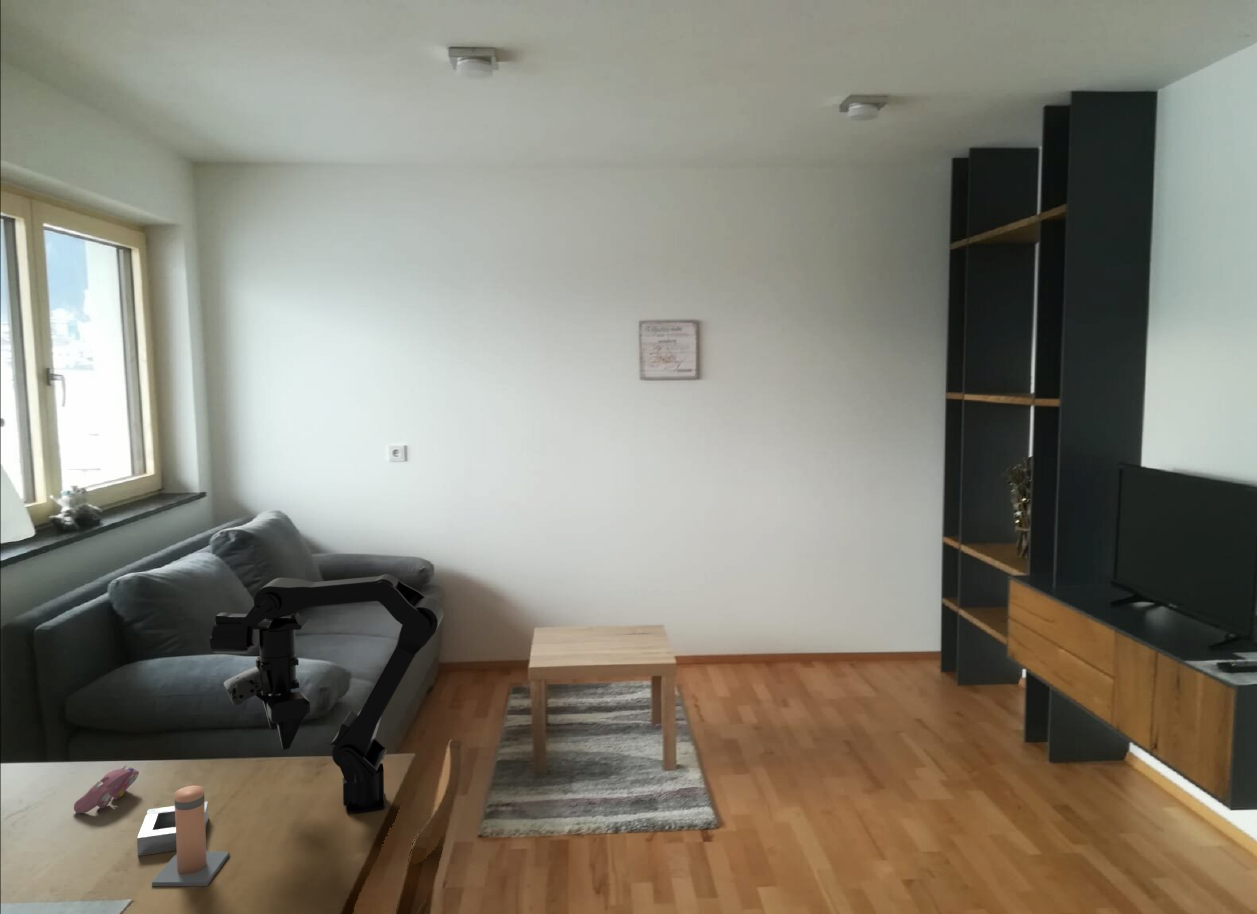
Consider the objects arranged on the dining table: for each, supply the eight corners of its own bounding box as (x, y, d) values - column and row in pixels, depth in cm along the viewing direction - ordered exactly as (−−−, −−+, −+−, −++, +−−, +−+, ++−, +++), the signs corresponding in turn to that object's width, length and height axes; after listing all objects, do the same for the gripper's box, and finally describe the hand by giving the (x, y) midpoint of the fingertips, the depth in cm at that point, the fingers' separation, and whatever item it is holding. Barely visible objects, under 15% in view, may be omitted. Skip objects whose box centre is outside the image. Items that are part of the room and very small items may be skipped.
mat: (177, 854, 136) (177, 851, 136) (229, 854, 136) (229, 851, 136) (151, 885, 128) (151, 882, 128) (206, 885, 128) (206, 882, 128)
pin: (208, 856, 135) (205, 783, 133) (204, 871, 131) (202, 796, 129) (179, 861, 133) (176, 787, 132) (175, 876, 129) (172, 800, 128)
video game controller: (90, 825, 146) (104, 793, 145) (68, 811, 147) (83, 778, 146) (133, 797, 156) (147, 766, 155) (113, 783, 157) (127, 753, 155)
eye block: (208, 818, 147) (207, 801, 146) (201, 846, 138) (200, 828, 138) (148, 826, 144) (148, 809, 143) (137, 856, 135) (137, 838, 135)
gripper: (217, 644, 152) (220, 729, 154) (237, 678, 137) (240, 772, 138) (283, 634, 158) (285, 716, 160) (310, 665, 143) (311, 755, 145)
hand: (279, 738), depth 151 cm, fingers open, 9 cm apart
